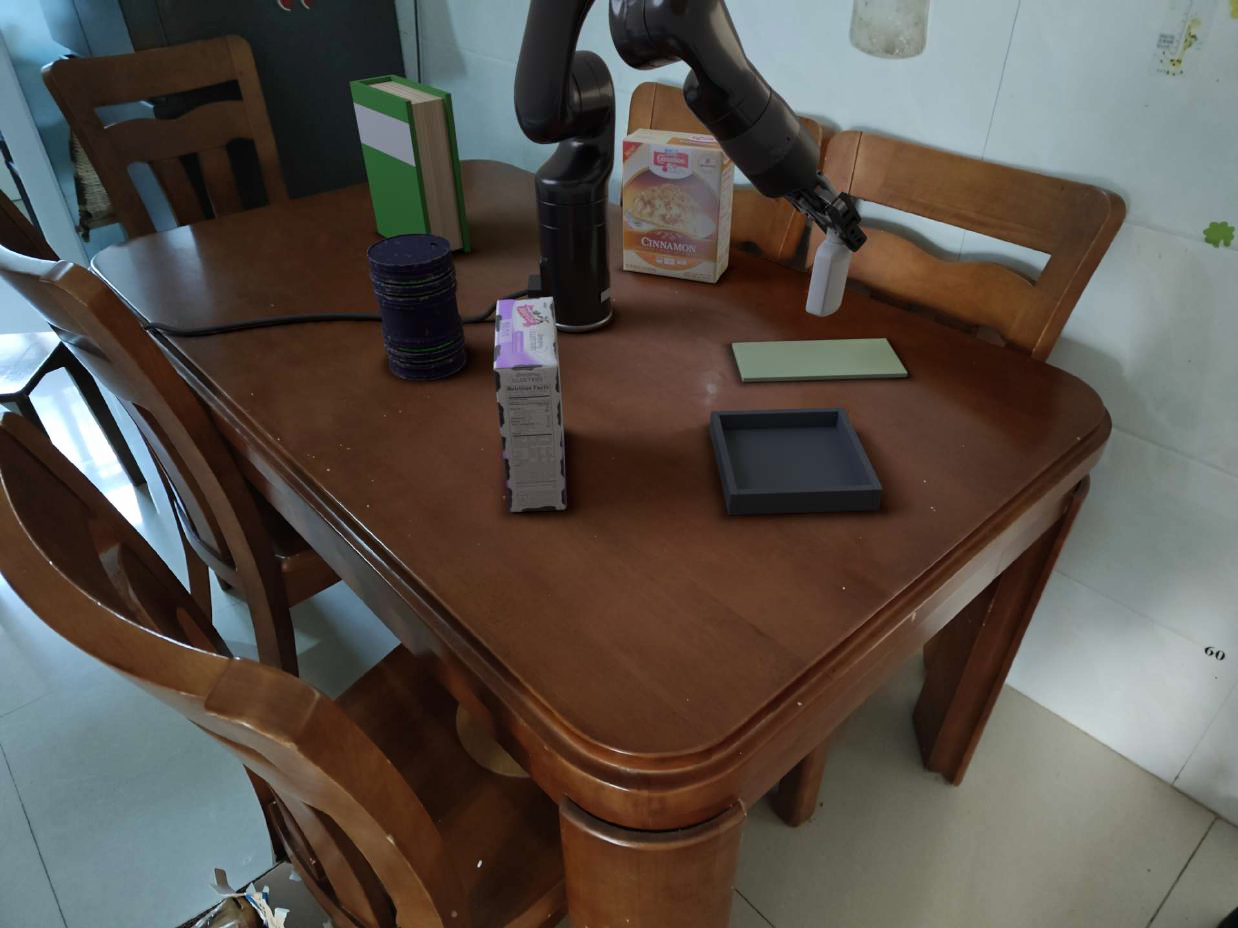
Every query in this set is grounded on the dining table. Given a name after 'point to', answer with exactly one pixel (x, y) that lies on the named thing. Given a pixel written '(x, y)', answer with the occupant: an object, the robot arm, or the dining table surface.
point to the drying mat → (817, 360)
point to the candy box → (530, 404)
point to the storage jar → (418, 305)
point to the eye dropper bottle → (828, 276)
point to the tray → (792, 462)
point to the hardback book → (411, 158)
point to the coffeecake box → (676, 204)
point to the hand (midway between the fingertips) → (848, 238)
